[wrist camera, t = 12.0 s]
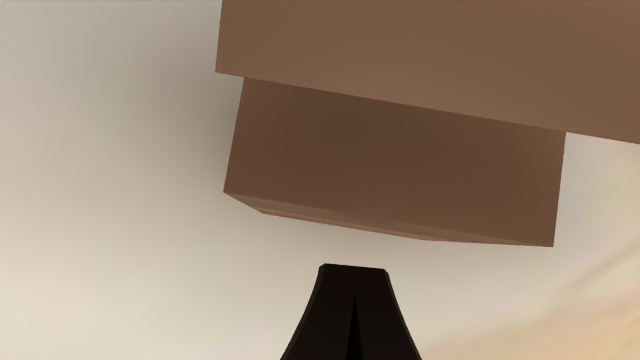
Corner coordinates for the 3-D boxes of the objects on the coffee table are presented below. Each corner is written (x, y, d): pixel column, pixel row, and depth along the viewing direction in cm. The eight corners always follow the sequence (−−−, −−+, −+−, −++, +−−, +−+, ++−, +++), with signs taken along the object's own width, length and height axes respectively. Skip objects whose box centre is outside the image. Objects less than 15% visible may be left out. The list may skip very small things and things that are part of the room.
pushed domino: (274, 150, 16) (247, 63, 8) (432, 176, 16) (567, 117, 8) (263, 213, 15) (223, 192, 7) (423, 239, 15) (553, 247, 8)
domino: (295, -34, 13) (235, -130, 5) (489, 0, 13) (722, -44, 5) (284, 47, 13) (215, 71, 6) (470, 79, 13) (653, 147, 6)
